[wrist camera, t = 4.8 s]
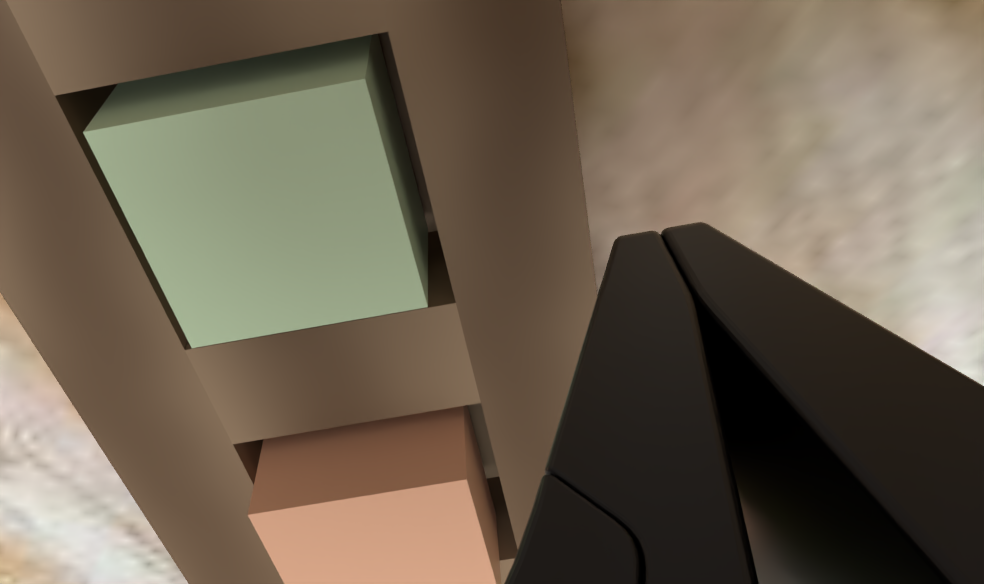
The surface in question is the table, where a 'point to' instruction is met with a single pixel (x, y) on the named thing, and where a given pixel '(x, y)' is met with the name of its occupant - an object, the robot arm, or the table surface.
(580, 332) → the key console
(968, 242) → the table surface
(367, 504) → the terracotta key
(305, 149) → the pale green square block
